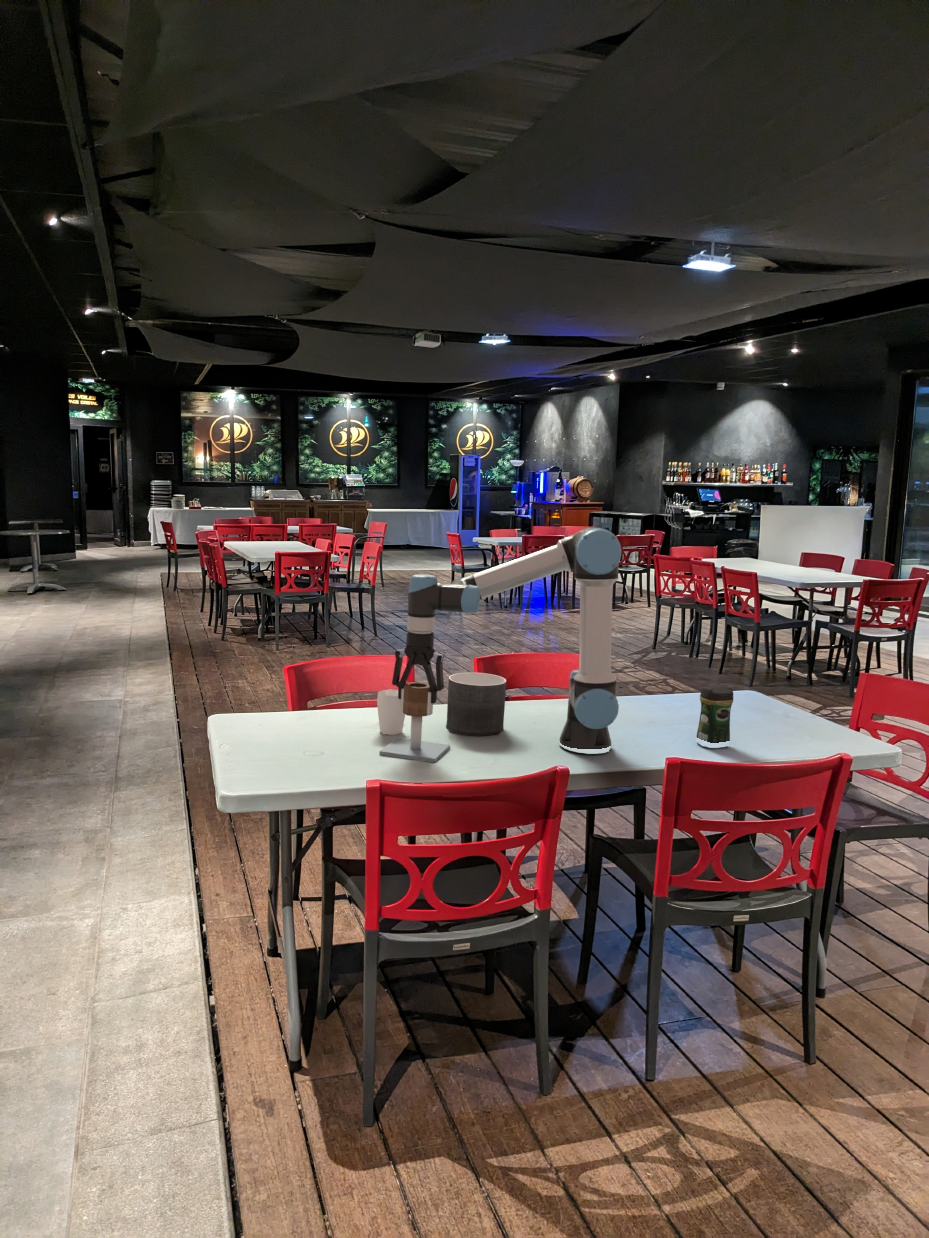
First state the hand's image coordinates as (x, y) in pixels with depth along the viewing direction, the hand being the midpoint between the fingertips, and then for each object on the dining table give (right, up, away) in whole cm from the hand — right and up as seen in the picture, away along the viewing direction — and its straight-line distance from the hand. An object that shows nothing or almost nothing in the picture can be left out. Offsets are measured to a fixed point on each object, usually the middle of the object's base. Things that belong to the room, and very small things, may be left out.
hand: (416, 712), depth 237 cm
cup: (-9, -8, +19) cm, 23 cm away
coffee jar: (+88, -13, +22) cm, 92 cm away
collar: (0, 0, 0) cm, 0 cm away
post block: (0, -11, +2) cm, 11 cm away
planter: (+16, -8, +28) cm, 33 cm away
